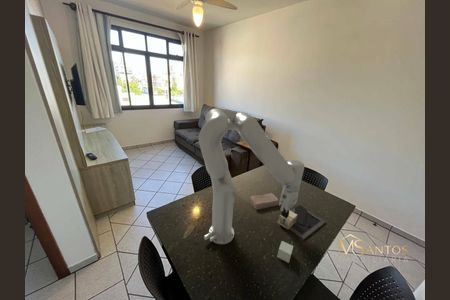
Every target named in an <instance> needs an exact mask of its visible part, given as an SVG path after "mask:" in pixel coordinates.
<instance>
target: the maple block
mask: <svg viewBox="0 0 450 300" xmlns="http://www.w3.org/2000/svg"><path fill="white" fill-rule="evenodd" d="M278 218H279V219H278V220H277V224H279V225H281V226H282V227H283V228H285V229H286V230H290V229H289V228H290V227H291V226H292V225H293V224H294V223H295V222H296V218H297V214H295V213H294V212H292V211H291V209H290V210H289V216H288V217H287V218H285V217H283V216H282V215H281V213H280V214H279V216H278Z"/></svg>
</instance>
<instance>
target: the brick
mask: <svg viewBox="0 0 450 300" xmlns="http://www.w3.org/2000/svg"><path fill="white" fill-rule="evenodd" d="M249 197H250V198H249V202H250V204H251V206H252V207H253V208H254V209H255V210H262V209H266V208H271V207H276V206H279V202H280V200H279V199H278V197H277V196H276V195H275V194H274V193H270V192H269V193H265V194H260V195H259V194H258V195H251V196H249Z"/></svg>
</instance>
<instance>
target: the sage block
mask: <svg viewBox="0 0 450 300" xmlns="http://www.w3.org/2000/svg"><path fill="white" fill-rule="evenodd" d="M293 249H294V245H293V244H289V243H288V242H286V241H283V240H281V242H280V245H279V248H278V251H277V256H276V258H279V260H282V261H284V262H287V263H288V264H290V260H291V257H292V254H293Z"/></svg>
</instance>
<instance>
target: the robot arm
mask: <svg viewBox="0 0 450 300" xmlns="http://www.w3.org/2000/svg"><path fill="white" fill-rule="evenodd" d="M228 131H236V132H237V133H238V134H239V136H240V137H241V139H242V140H243V141H244V142H245V144H246V145H247V146H248V148H250V150H251V151H252V152H253V154H254V155H255V156H256V157H257V159H258V160H259V161H260V162H261V163H263V165H264V166H265V167H266V168H267V170H268V171H269V173H270V174H271V176H273V178H275V180H276V181H277V182H278V183H279V184H281V185H282V186H281V187H282V189H281V190H282V191H281V194H280V198H279V203H278V206H279V207H280V210H279V211H281V213H280V214H281V215H282V216H283V217H285V218H287V217H288V216H289V210H290V211H291V210H292V208H293V207H294V206H295V205H296V204H297V202H298V197H299V191H300V188H301V184H302V183H301V182H302V179H303V175H304V171H305V164H304V163H303V162H302V161H301V160H297V159H290V160H287V159H285V157H284V156H283V155H282V154H281V153H280V151H279V150H278V149H277V147H276V145H274V143H273V142H272V141H271V139H270V137H269V136H268V135H267V133H266V132H265V131H264V129H263V128H262V127H261V125H260V123H259V122H258V121H257V119H256V118H255V117H253V116H252V115H250V114H248V113H247V112H244V111H243V112H242V111H239V110H237V111H235V110H230V109H223V108H211V109H210V110H209V111H208V112H207V114H206V116H205V123H204V125H202V127H201V129H200V131H199V134H198V145H199V149H200V152H201V155H202V158H203V162H204V165H205V166H204V167H205V169H206V172H207V173H208V175H209V176H210V180H211V186H212V195H213V196H212V211H211V213H212V214H211V215H212V216H211V218H212V219H211V226H210V228H209V229H208V233H207V234H205V235H203V239H204V240H205V241H207V240H208V239H209V241H210V242H212V243H215V244H217V245H226V244H229V243H230V242H232V240H233V239H234V238H235V229H234V228H233V213H234V201H235V198H236V191H237V190H236V186H235V182H234V181H233V178H232V176H231V173H230V170H229V164H228V160H227V158H226V155H225V152H224V148H223V145H222V140H223V137H224V136H225V135H226V134H227V133H228Z"/></svg>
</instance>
